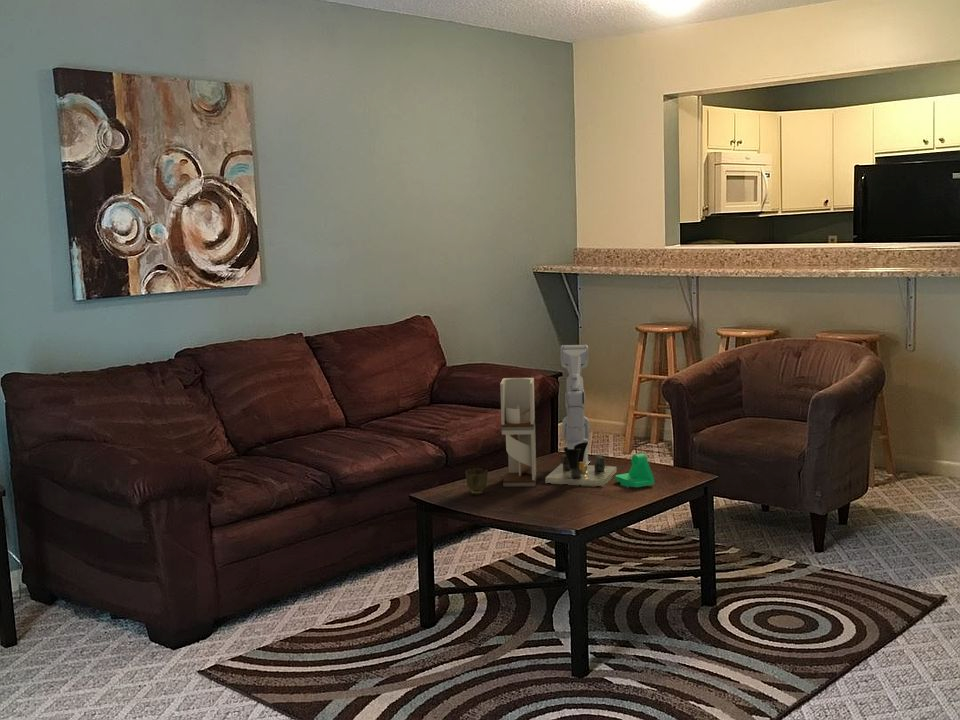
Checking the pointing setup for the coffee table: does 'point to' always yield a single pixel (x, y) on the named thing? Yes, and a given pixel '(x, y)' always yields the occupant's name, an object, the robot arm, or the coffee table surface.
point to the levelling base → (590, 474)
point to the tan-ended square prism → (577, 470)
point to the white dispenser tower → (519, 430)
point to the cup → (476, 480)
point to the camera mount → (637, 473)
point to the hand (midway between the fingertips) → (576, 465)
